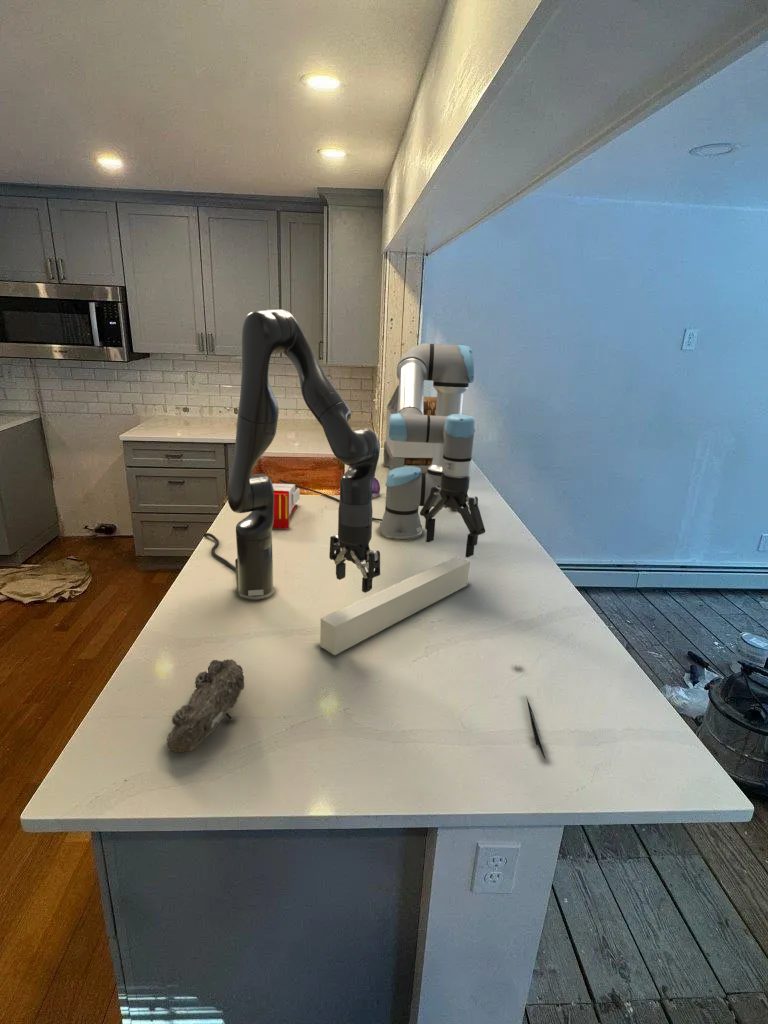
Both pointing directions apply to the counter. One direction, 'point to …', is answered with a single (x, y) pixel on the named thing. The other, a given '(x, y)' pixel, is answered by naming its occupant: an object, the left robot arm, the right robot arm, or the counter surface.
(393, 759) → the counter surface
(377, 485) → the figurine
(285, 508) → the toy
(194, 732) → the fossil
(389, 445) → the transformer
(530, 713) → the feather
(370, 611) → the beam
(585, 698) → the counter surface
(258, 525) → the left robot arm
